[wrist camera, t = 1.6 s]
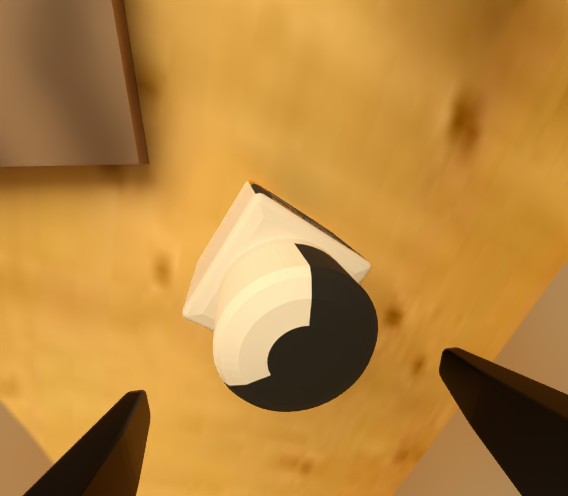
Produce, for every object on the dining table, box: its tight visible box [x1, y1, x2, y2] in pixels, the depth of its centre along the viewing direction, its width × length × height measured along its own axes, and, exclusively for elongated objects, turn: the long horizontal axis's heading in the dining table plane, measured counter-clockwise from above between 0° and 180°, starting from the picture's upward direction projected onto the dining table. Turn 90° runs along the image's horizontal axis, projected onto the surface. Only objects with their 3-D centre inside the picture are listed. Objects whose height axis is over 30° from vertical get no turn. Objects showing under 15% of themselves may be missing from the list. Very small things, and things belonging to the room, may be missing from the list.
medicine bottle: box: [182, 180, 378, 412], centre depth 15 cm, size 7×7×12 cm
